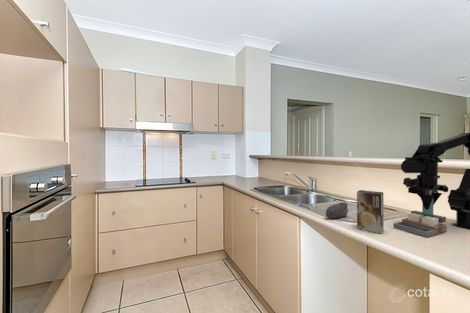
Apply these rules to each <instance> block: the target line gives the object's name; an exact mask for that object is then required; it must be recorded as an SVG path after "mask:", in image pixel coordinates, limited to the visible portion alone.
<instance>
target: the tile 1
mask: <svg viewBox="0 0 470 313" xmlns="http://www.w3.org/2000/svg"><path fill="white" fill-rule="evenodd" d="M407 214H408V215H407V218H408V220H412V221H416V222H422V217H424V215H421V214H416V213H411V212H410V213H407Z"/></svg>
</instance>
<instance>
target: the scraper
mask: <svg viewBox="0 0 470 313" xmlns="http://www.w3.org/2000/svg"><path fill="white" fill-rule="evenodd" d="M433 202H434V198H433V200H432V202H431V205H430V207H429V209H428V210H427V209H425V208H424V205H423V203H421V205H422V208H421V209H422V210H421V211H418V210H411V211H410V213H416V214H421V215H424V216H430V217H434V218H439V223H441V224H445V223H447V222H446V221H447V217H446V216H443V215H438V214H434V205H433Z"/></svg>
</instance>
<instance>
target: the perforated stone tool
mask: <svg viewBox="0 0 470 313" xmlns="http://www.w3.org/2000/svg"><path fill="white" fill-rule="evenodd" d="M348 213H349V208H348V203H347V202H338V203H337V202H336V203H334V204H332V205H329V207H327V209H326V211H325V216H326V217H327V218H328V219H340V218H343V217H346V216H348Z"/></svg>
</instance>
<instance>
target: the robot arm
mask: <svg viewBox="0 0 470 313" xmlns="http://www.w3.org/2000/svg"><path fill="white" fill-rule="evenodd" d="M462 145H463V146H464V148H467V153H468V155H469V157H470V132H462V133H459V134H457V135H455V136H451V137H449V138H445V139H443V140H440V141H438V142H428V143H422V144H419V145H418V147H417V149H416V150H415V152H414V153H413V154H412V156H410V157H409V156H407V157H405V158H404V159H405V160H403V161H402V162H401V164H400V169H401V171H402V172H403V173H405V174H417V175H416V178H410V177H405V178H403V182H402V184H403V185H404V186H405V187H406V189H407V192H408V194H413V195H414V194H415V195H417V196H418V197H419V198H420V200H421V202H422V203H423V205H424V208H425V209H427V210H428V209H429V207H430V205H431V202H432V200H433V198H434V202H433V206H434V205H435V204H436V202H438V200H439V198H440V197H441V196H442V195H443V193H448V192H449V194H448V196H447V203H448V205H449V209H450V210H451V211H455V212H456V213H455V214H456V216H455V220H456V222H453V223H452V226H456V227H460V228H465V229H468V230H470V169H466V168H465V170H464V173H463V176H462V178H461V181H460V183H459V186H458V187H457V188H455V189H450V191H449V187H448V186H447V185H446V184H438V181H439V180H438V179H441V175H439V172H438V171H439V170H438V169H439V163H440V164H441V163H443V162H444V161H443V160H442V159H441V158H440V157H441V156H442V155H444V154H445V153H446V151H449V150H452V149H455V148H457V147H459V146H460V147H461V146H462ZM439 191H440V192H439ZM442 192H443V193H442ZM422 203H421V204H422Z"/></svg>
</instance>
